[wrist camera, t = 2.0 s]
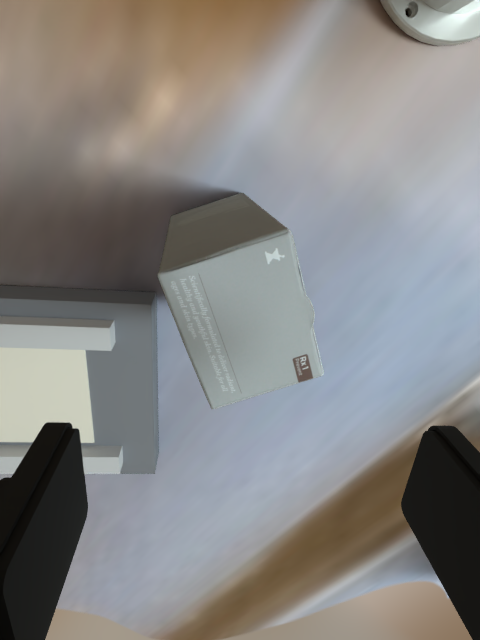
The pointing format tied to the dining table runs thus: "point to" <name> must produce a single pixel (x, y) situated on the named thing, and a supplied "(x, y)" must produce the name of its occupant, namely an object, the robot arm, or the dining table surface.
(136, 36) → the dining table surface
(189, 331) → the skincare box
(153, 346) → the panel
